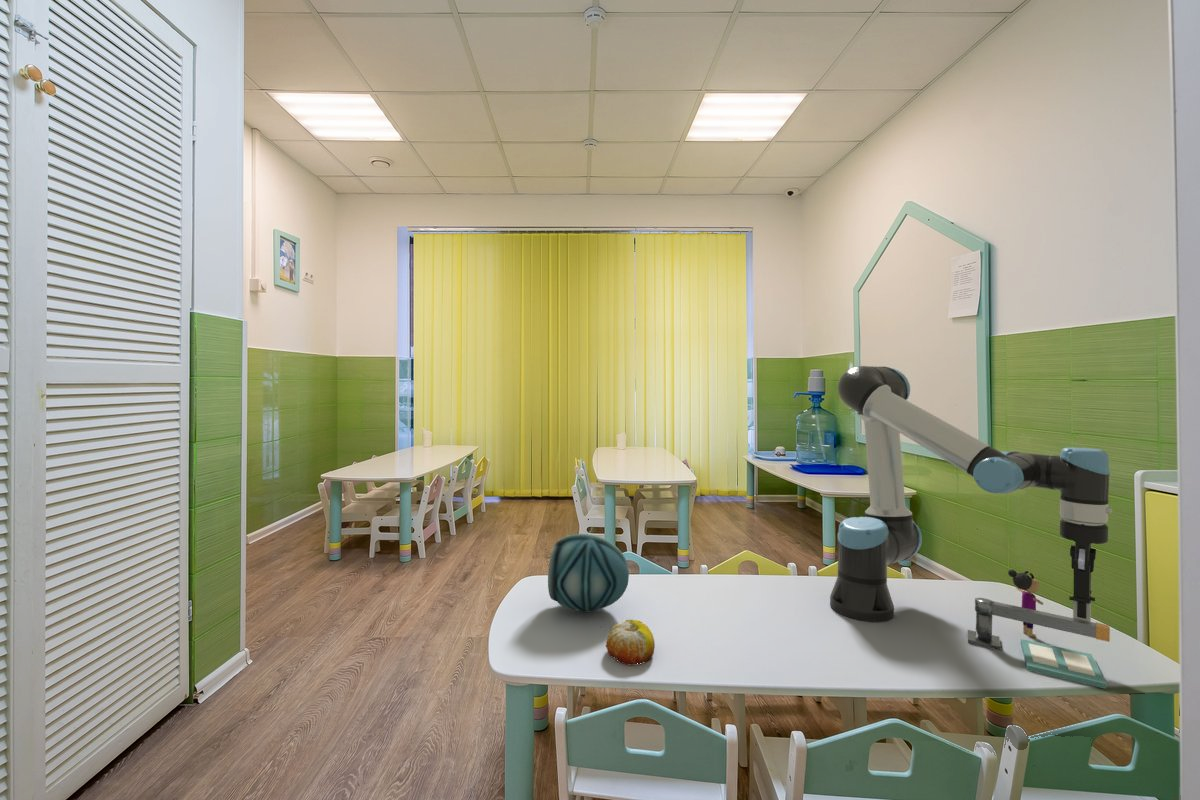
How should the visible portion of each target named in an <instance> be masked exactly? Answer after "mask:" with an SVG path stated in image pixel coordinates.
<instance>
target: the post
mask: <svg viewBox="0 0 1200 800" xmlns="http://www.w3.org/2000/svg"><path fill="white" fill-rule="evenodd" d="M975 617H976V618H975V631H974V630H970V629H967V643H968V644H971V645H975V646H979V647H983V648H987V649H993V650H997V651H1002V647H1001V646H1002V645H1001V640H1000V636H999V635H993V615H986V614H981V613H979V612H977V611H975Z"/></svg>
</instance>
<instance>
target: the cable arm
mask: <svg viewBox="0 0 1200 800" xmlns="http://www.w3.org/2000/svg"><path fill="white" fill-rule="evenodd" d="M974 611H975V612H976V611H977V612H979V613H981V614H986V615H992V616H996V617H1000V618H1003V619H1004V618H1005V619H1009V620H1012V621H1013V620H1014V621H1017V622H1022V623H1023V622H1026V623H1031V624H1033V625H1036V626H1040V627H1045V628H1048V629H1052V630H1056V631H1057V630H1058V631H1063V632H1067V633H1071V634H1076V635H1081V636H1085V637H1089V638H1093V639H1096V640H1100V641H1104V642H1108V643H1110V641H1111V640H1110V639H1111V638H1110V636H1111V629H1110V625H1109V624H1105V623H1099V622H1093V621H1091V622H1088V621H1084V620H1079V619H1074V618H1073V617H1068V616H1064V615H1061V614H1060V615H1059V614H1054V613H1052V612H1045V611H1040V610H1037V609H1036V610H1032V609H1027V608H1023V607H1022V606H1018V605H1012V604H1007V603H1004V602H999V601H994V600H992V599H988V598H985V597H975V598H974Z"/></svg>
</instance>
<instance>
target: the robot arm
mask: <svg viewBox="0 0 1200 800" xmlns="http://www.w3.org/2000/svg"><path fill="white" fill-rule="evenodd" d="M837 393H838V396H839V398H840V399H841V401H842V402H843V403H844V404H845V405H846V406H848V407H849V408H850V409H852V410H853V411H855V412H856V413H857V416H858V417H859V418H860V419H861V420H862V421H863V422H864V423H863V424H864V437H865V448H866V449H865V451H866V464H867V476H868V490H869V491H868V492H869V503H870V505H869V506H868V507H867V509H866V510H864V515H865V516H857V517H856V516H854V517H848V518H845V519H843V520H842V521H841V522H840V523H839V525H838V532H837V577H836V579H835V582H834V586H833V587H832V590H831V593H830V595H829V598H830V599H829V606H830V607H831V608H832V609H833V611H835V612H837V613H839V614H841V615H842V616H845V617H848V618H851V619H854V620H859V621H865V622H866V621H867V622H886V621H890V620H892V619H893V618H894V617H895V604H894V602H893V598H892V596H891V593H890V591H889V590H890V589H889V587H888V584H887V583H888V566H889V565H892V564H895V563H898V562H903V561H907V560H908V559H910V558H911V557H913V556H915V555H916V554H917V553H918V552H919V550H920V549H921V547H922V544H923V543H922V542H923V535H922V532H921V529H920V527H919V525H917V524H916V522H915V521H914V517H913V512H912V511H911V510H910V509H909V508H908V507H906V498H905V497H906V496H905V483H904V472H903V471H904V470H903V458H902V447H901V435H903V436H904V437H906V438H907V439H909V440H912V441H913V442H915V443H916V444H918V446H919V445H920V446H921V447H922V448H925V449H926V450H928V451H930V452H931V453H933V454H934V455H935V456H937V457H940V458H941V459H943V460H944V461H946V462H948V463H949V464H951V465H953V466H954V467H956V468H958V469H960V470H961V471H963V472H965V473H966V474H968V475H969V476H971V477H972V478H973V479H974V481H975V483H976V484H977V487H979V488H980V489H982V490H983V491H984V492H988V493H992V494H1009V493H1013V492H1015V491H1017V490H1023V489H1027V488H1038V489H1039V488H1040V489H1045V490H1046V489H1048V490H1055V491H1060V498H1059V516H1060V517H1061V518H1062V519H1060V520H1059V535H1060V536H1061V537H1062V538H1063V539H1066V540H1068V541H1073V542H1074V545H1073V544H1071V545H1070V548H1069V556H1070V558H1071V569H1072V570H1073V595H1072V596H1071V595H1070V596H1069V598H1068V599H1069V601H1072V602H1073V606H1072V607H1073V608H1072V618H1074V619H1079V620H1084V621H1088V622H1092V618H1091V617H1092V616H1091V615H1092V613H1091V612H1092V611H1091V610H1092V602H1095V601H1096V597H1093V596H1091V595H1092V592H1093V591H1092V589H1091V588H1092V587H1091V586H1092V573H1093V572H1094V569H1095V568H1094V567H1095V560H1096V557H1097V556H1096V555H1097V548H1093V547H1092V544H1095V545H1104V544H1107V543H1108V542H1109V526H1108V525H1107V524H1108V522H1109V514H1112V513H1113V509H1112V508H1110V507H1109V495H1110V494H1109V490H1110V476H1111V470H1110V461H1109V458H1110V457H1109V454H1108V453H1107V451H1104V450H1102V449H1099V448H1091V447H1090V448H1089V447H1074V446H1073V447H1064V448H1062V449H1061V453H1060V454H1059V455H1050V454H1049V455H1048V454H1041V453H1040V454H1037V453H1031V452H1030V453H1027V452H1019V451H999V450H998V449H996V448H993V447H991V446H990V445H989V444H987V443H985V442H984V441H982V440H980V439H978V438H976V437H974V436H972V435H971V434H969V433H967V432H965V431H964V430H961V429H960V428H957V427H956V426H954V425H952V424H950V423H948V422H947V421H945V420H943V419H942V418H939V417H938V416H936V415H934V414H933V413H930V412H929V411H927V410H925V409H923V408H921V407H919V406H918V405H916V404H914V403H912V402H910V401H909V400H908V399H909V397H910V394H911V385H910V382H909V380H908V378H907V377H906V376H905V374H904V373H902V372H901V371H900V370H898V369H895V368H891V367H888V366H873V365H872V366H868V365H858V366H854V367H851V368H849V369H848V370H846V371H845V372H844V373H843V374H842V375H841V376H840V378H839V381H838V384H837ZM1106 523H1107V524H1106Z"/></svg>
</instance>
